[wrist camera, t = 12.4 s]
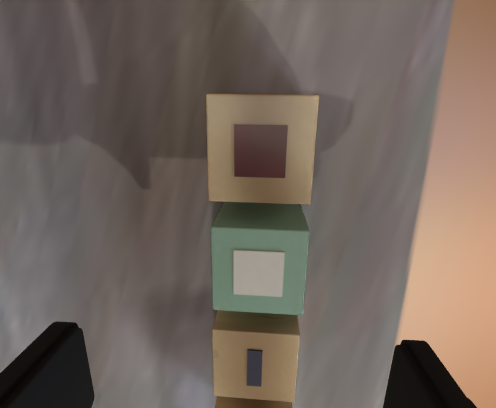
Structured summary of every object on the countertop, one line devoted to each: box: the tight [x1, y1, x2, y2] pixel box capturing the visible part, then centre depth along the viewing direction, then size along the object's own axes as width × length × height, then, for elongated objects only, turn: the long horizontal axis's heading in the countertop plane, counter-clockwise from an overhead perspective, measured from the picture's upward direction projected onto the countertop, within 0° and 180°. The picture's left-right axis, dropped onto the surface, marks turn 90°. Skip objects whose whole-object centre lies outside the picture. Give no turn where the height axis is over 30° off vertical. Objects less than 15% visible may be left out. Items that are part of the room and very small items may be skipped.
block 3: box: [212, 310, 300, 402], centre depth 18 cm, size 5×5×5 cm
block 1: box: [206, 94, 319, 205], centre depth 14 cm, size 5×5×5 cm
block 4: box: [215, 396, 292, 408], centre depth 20 cm, size 5×5×5 cm
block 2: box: [211, 202, 310, 315], centre depth 16 cm, size 5×5×5 cm
